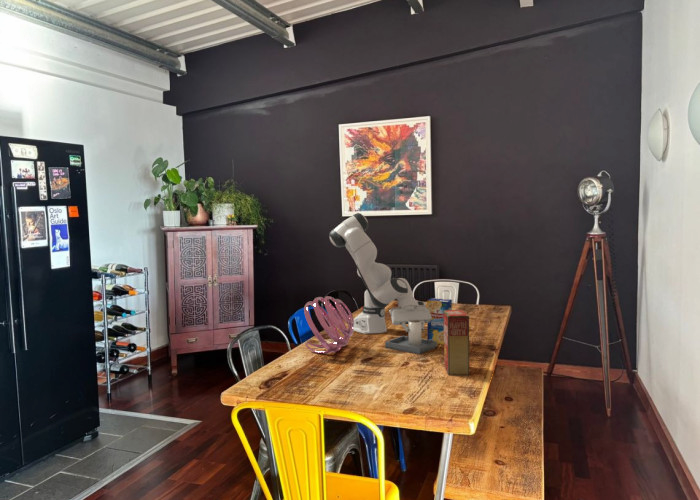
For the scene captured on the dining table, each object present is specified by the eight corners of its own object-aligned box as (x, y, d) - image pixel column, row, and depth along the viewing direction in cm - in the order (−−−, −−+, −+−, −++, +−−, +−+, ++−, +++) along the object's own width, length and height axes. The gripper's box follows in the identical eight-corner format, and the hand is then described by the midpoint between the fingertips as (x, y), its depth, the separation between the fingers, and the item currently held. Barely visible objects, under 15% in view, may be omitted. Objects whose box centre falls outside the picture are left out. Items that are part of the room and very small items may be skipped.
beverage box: (447, 344, 262) (448, 301, 260) (427, 342, 267) (427, 300, 265) (451, 341, 268) (452, 299, 266) (431, 339, 273) (431, 298, 271)
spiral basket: (277, 314, 247) (323, 283, 242) (302, 316, 273) (343, 288, 268) (304, 365, 238) (352, 334, 233) (327, 363, 264) (370, 335, 259)
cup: (405, 343, 252) (405, 321, 251) (412, 341, 257) (412, 319, 256) (417, 345, 248) (417, 323, 247) (424, 343, 253) (424, 321, 252)
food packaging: (442, 365, 227) (442, 309, 225) (464, 365, 227) (464, 309, 225) (447, 375, 214) (447, 315, 212) (470, 375, 213) (470, 315, 212)
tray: (385, 347, 257) (385, 341, 257) (403, 341, 270) (402, 335, 269) (419, 354, 245) (419, 348, 244) (436, 347, 257) (436, 341, 257)
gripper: (389, 304, 255) (396, 328, 246) (428, 302, 260) (436, 325, 252) (386, 311, 260) (393, 335, 251) (424, 309, 265) (432, 332, 256)
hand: (415, 330), depth 251 cm, fingers closed on cup, 6 cm apart
